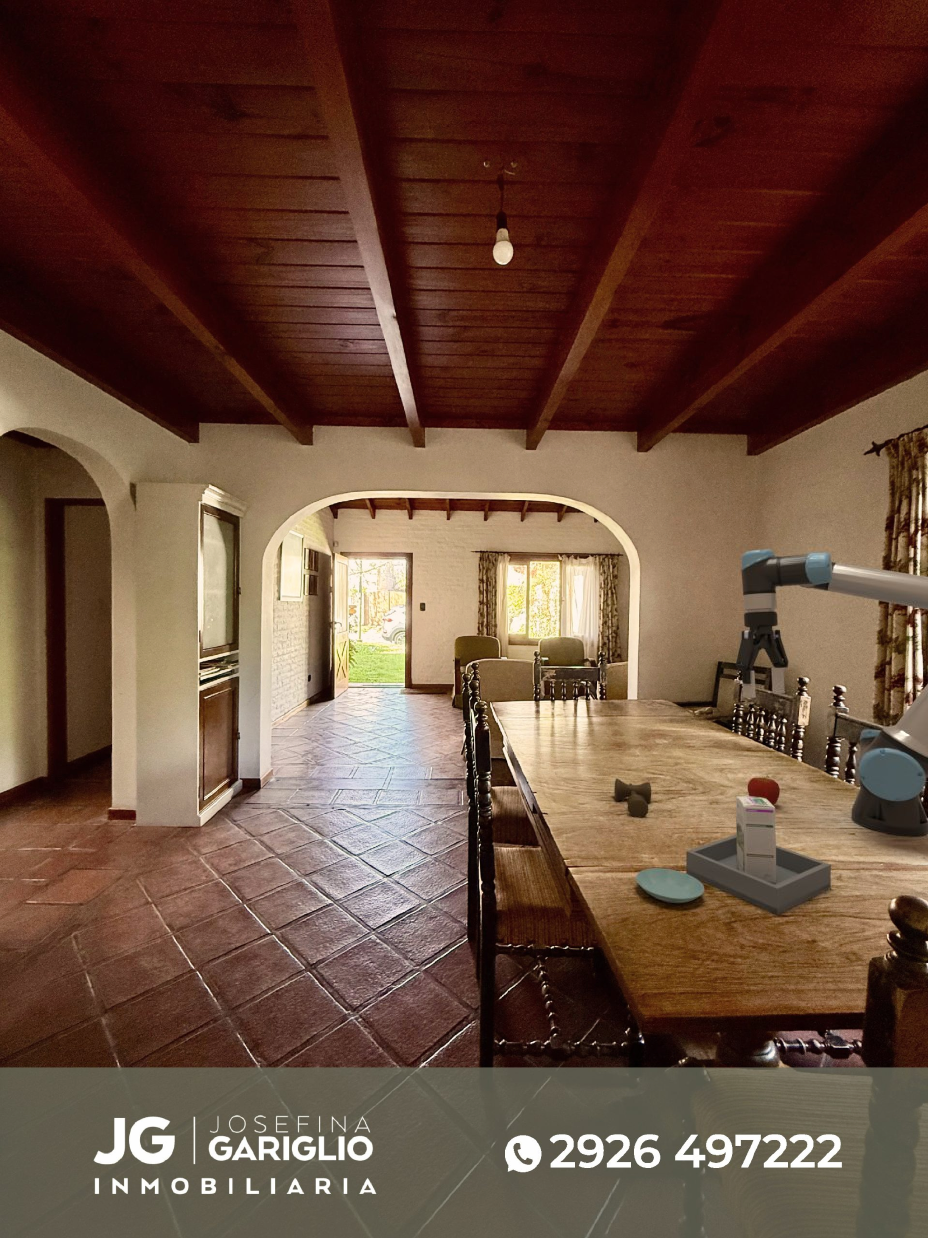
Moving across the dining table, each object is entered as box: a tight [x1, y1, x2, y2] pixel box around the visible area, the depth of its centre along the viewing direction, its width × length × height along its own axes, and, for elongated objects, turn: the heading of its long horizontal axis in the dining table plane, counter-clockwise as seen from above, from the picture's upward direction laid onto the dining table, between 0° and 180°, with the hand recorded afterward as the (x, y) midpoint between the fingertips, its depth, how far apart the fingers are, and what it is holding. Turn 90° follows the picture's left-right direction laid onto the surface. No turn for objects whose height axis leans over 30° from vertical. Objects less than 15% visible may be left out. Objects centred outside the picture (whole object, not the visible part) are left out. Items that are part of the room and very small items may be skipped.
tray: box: [685, 833, 832, 916], centre depth 108 cm, size 18×18×4 cm
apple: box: [747, 776, 781, 806], centre depth 152 cm, size 8×8×8 cm
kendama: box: [613, 778, 652, 818], centre depth 152 cm, size 6×10×20 cm
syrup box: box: [735, 795, 777, 883], centre depth 108 cm, size 6×6×14 cm
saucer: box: [635, 867, 705, 904], centre depth 103 cm, size 12×12×2 cm
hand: (764, 695), depth 142 cm, fingers open, 13 cm apart
